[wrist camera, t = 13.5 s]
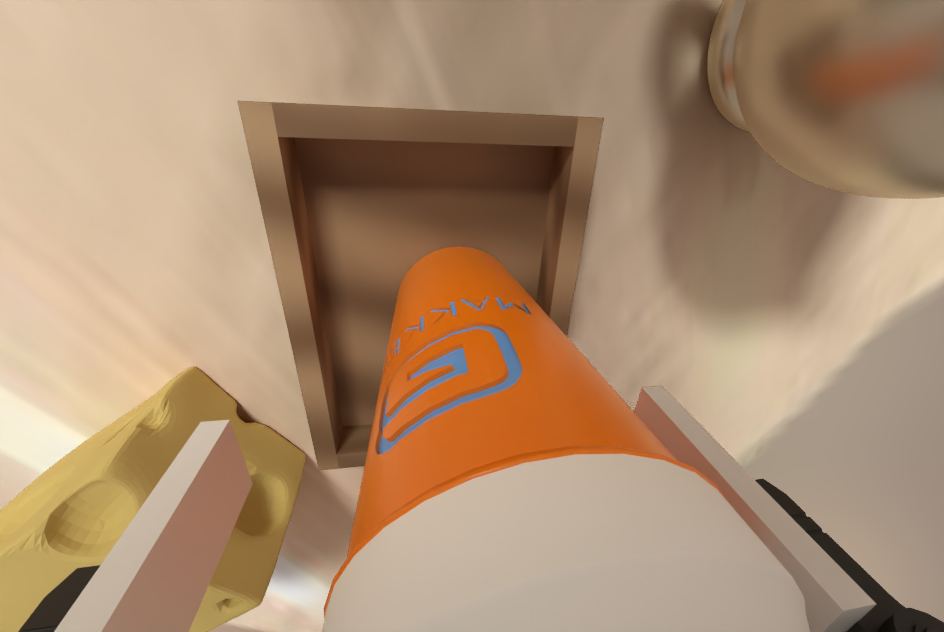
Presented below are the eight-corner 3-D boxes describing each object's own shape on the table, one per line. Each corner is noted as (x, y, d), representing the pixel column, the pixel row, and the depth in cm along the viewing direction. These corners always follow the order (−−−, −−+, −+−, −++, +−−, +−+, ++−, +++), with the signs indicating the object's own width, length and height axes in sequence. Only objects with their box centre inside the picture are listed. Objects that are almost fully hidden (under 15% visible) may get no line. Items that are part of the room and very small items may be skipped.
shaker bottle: (556, 305, 23) (1056, 892, 5) (450, 388, 24) (555, 1049, 7) (466, 193, 19) (1222, 1003, 1) (346, 301, 21) (-26, 1304, 3)
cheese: (193, 359, 22) (51, 509, 13) (318, 456, 27) (275, 612, 18) (71, 441, 23) (-135, 629, 14) (212, 520, 28) (122, 696, 19)
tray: (269, 106, 17) (237, 100, 14) (571, 120, 19) (603, 117, 16) (329, 429, 26) (318, 470, 23) (531, 412, 28) (547, 447, 25)
